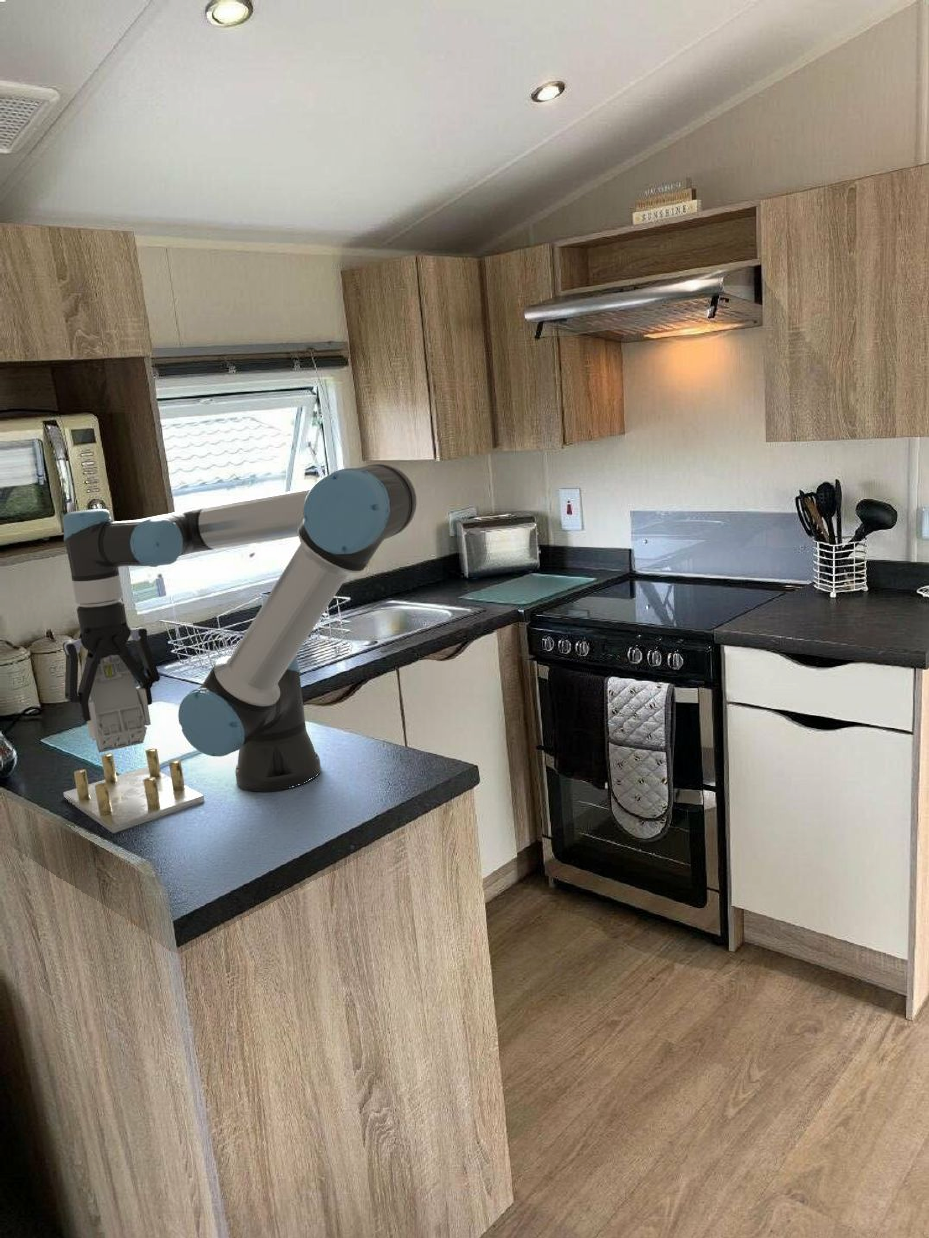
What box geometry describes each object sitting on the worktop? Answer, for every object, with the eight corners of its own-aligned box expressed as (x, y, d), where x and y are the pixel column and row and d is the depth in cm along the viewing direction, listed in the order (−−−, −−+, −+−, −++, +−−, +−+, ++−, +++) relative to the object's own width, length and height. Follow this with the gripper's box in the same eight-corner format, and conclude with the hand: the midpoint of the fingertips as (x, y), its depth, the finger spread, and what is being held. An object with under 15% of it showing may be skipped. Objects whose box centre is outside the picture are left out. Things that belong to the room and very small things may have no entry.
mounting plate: (204, 801, 166) (199, 767, 165) (113, 833, 156) (106, 797, 155) (149, 771, 183) (144, 740, 182) (64, 798, 173) (58, 765, 172)
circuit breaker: (140, 753, 177) (122, 678, 181) (146, 728, 165) (127, 649, 170) (97, 762, 174) (80, 686, 178) (101, 738, 162) (82, 657, 166)
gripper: (150, 589, 172) (169, 711, 176) (27, 612, 158) (50, 743, 163) (168, 592, 166) (187, 718, 171) (42, 617, 153) (66, 752, 157)
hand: (120, 730), depth 167 cm, fingers closed on circuit breaker, 8 cm apart
